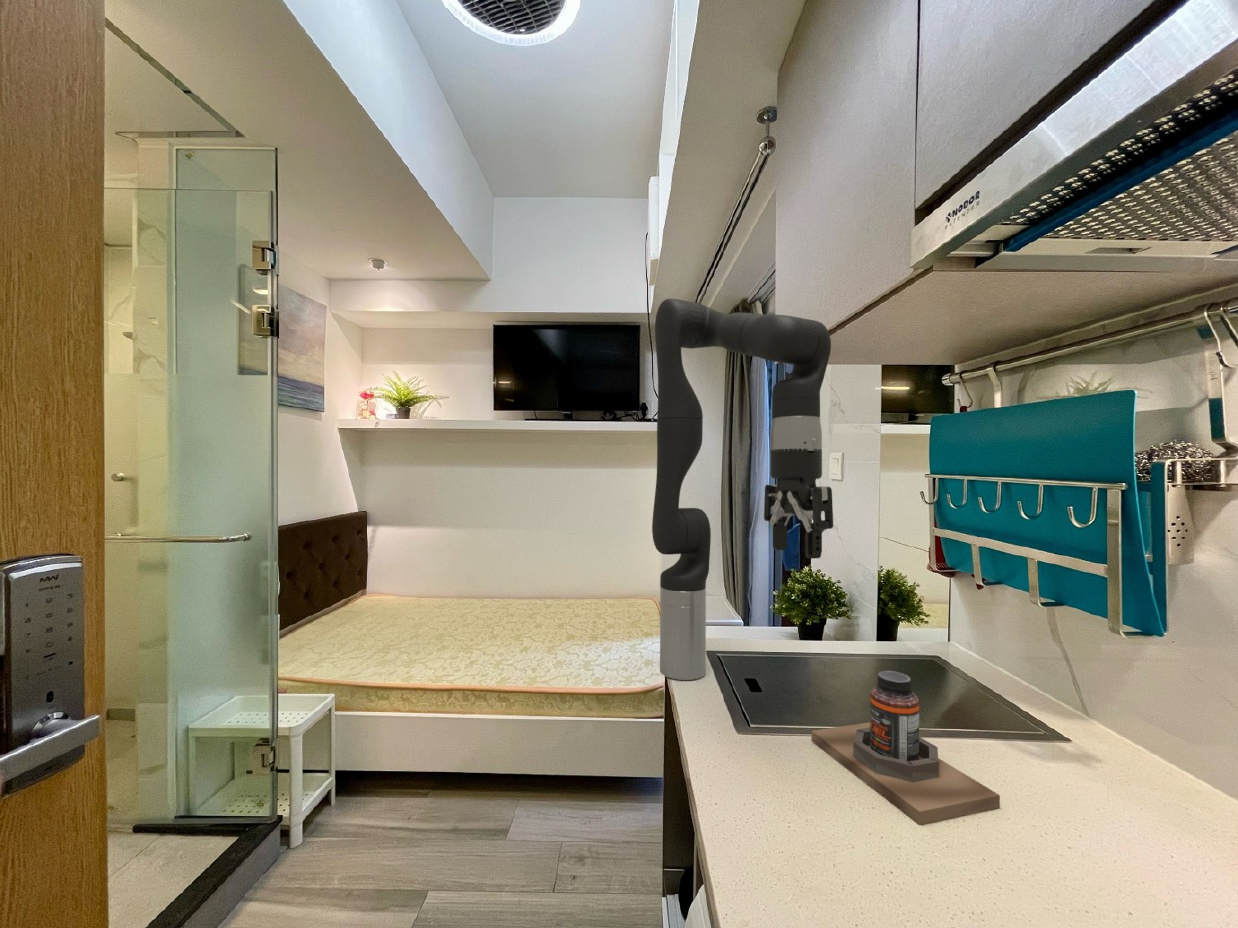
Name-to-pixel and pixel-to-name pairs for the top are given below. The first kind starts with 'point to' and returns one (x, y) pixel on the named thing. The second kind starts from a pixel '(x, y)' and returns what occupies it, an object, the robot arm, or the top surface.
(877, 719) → the supplement bottle
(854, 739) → the socket board
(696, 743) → the top surface
